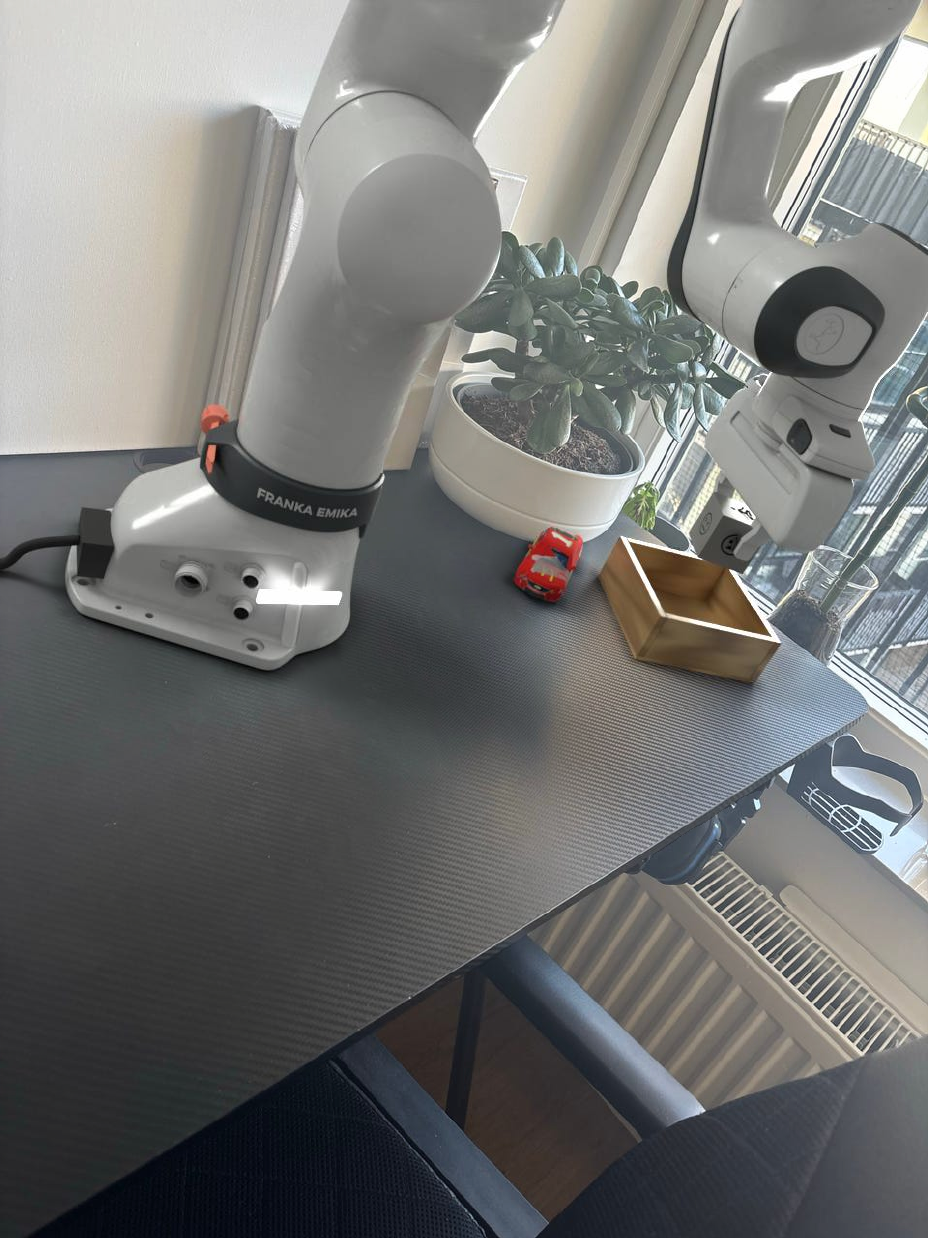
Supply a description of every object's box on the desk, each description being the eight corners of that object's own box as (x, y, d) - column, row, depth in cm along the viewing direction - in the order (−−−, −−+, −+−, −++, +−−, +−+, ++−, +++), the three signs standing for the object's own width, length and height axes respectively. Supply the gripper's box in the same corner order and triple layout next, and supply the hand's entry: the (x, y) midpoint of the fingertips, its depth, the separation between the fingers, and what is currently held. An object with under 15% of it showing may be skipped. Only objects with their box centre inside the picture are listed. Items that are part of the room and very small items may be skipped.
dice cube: (742, 574, 93) (769, 532, 90) (697, 557, 92) (723, 514, 89) (732, 549, 97) (758, 508, 94) (688, 532, 96) (713, 491, 93)
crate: (634, 659, 92) (660, 616, 89) (597, 576, 103) (619, 535, 100) (754, 683, 96) (782, 643, 94) (706, 601, 107) (730, 563, 104)
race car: (553, 614, 93) (569, 582, 91) (504, 589, 94) (519, 556, 91) (581, 560, 104) (596, 531, 102) (537, 538, 105) (551, 508, 102)
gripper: (732, 357, 93) (665, 476, 100) (825, 456, 77) (737, 589, 84) (784, 375, 95) (714, 491, 102) (885, 476, 79) (794, 604, 86)
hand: (725, 536), depth 93 cm, fingers closed on dice cube, 5 cm apart
